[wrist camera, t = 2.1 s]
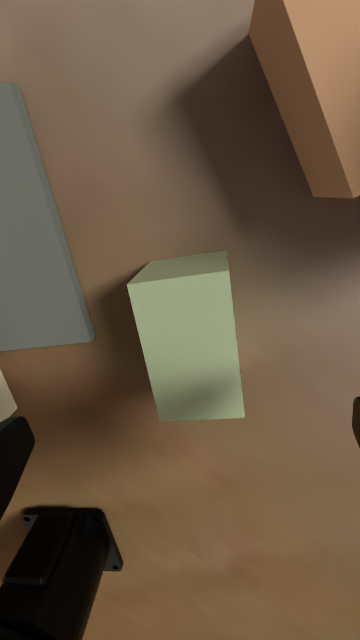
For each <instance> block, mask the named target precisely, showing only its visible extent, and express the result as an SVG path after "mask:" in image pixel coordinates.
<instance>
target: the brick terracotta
mask: <svg viewBox="0 0 360 640" xmlns="http://www.w3.org/2000/svg"><path fill="white" fill-rule="evenodd" d="M249 36H250V39H251V41H252V44H253V46H254V49H255V51H256V54H257V56H258V59H259V61H260V64H261V66H262V69H263V71H264V74H265V76H266V79H267V81H268V84H269V86H270V89H271V91H272V94H273V96H274V99H275V102H276V104H277V107H278V109H279V112H280V114H281V117H282V119H283V122H284V124H285V127H286V129H287V132H288V134H289V137H290V139H291V142H292V144H293V147H294V149H295V152H296V154H297V157H298V159H299V162H300V164H301V167H302V169H303V172H304V174H305V177H306V179H307V182H308V184H309V187H310V189H311V192H312V194H313V197H329V198H355V197H357V196H359V195H360V0H255V3H254V8H253V14H252V19H251V24H250V30H249Z"/></svg>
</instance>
